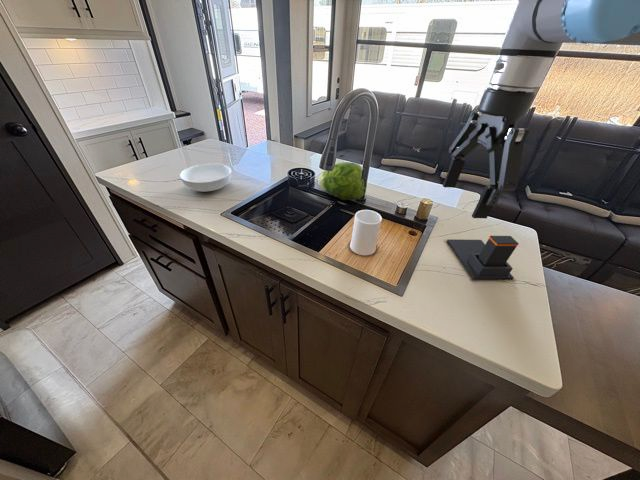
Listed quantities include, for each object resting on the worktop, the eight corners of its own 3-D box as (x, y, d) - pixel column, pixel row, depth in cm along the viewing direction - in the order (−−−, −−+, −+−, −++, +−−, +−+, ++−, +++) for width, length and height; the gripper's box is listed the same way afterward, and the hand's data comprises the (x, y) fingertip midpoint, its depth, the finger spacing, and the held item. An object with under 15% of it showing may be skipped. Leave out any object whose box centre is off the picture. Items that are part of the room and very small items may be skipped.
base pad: (512, 280, 75) (519, 270, 72) (473, 279, 74) (478, 270, 72) (479, 241, 89) (484, 232, 86) (446, 241, 88) (450, 232, 86)
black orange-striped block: (499, 272, 76) (518, 243, 69) (480, 272, 75) (497, 243, 69) (492, 264, 78) (510, 235, 72) (474, 263, 78) (490, 235, 71)
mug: (354, 231, 91) (359, 202, 83) (378, 237, 89) (385, 207, 81) (347, 252, 82) (351, 221, 74) (373, 258, 80) (380, 227, 72)
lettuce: (332, 188, 123) (323, 159, 114) (374, 185, 112) (367, 152, 103) (318, 207, 113) (307, 177, 104) (363, 206, 102) (354, 172, 93)
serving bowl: (237, 176, 122) (235, 163, 118) (228, 198, 106) (225, 182, 102) (193, 176, 121) (189, 162, 117) (176, 197, 104) (171, 182, 100)
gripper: (455, 79, 52) (424, 176, 65) (544, 100, 32) (475, 234, 45) (490, 80, 53) (453, 177, 66) (599, 102, 33) (515, 234, 46)
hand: (462, 200), depth 55 cm, fingers open, 13 cm apart
